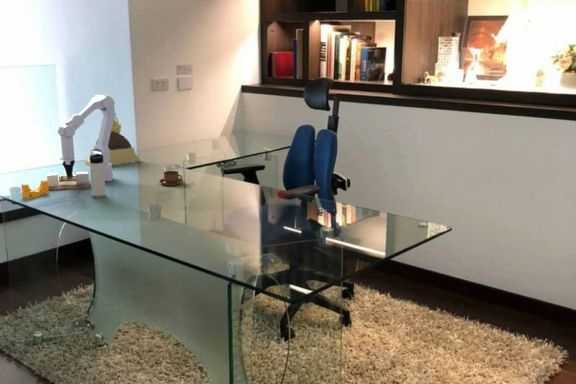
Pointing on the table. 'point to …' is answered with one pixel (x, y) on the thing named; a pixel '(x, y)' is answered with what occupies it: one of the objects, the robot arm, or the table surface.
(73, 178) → the block with brass knob
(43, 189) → the yellow u-shaped block
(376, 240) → the table surface
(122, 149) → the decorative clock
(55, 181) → the white square block
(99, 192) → the travel mug
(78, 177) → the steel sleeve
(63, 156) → the robot arm
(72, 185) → the walnut board
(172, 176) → the cup and saucer
